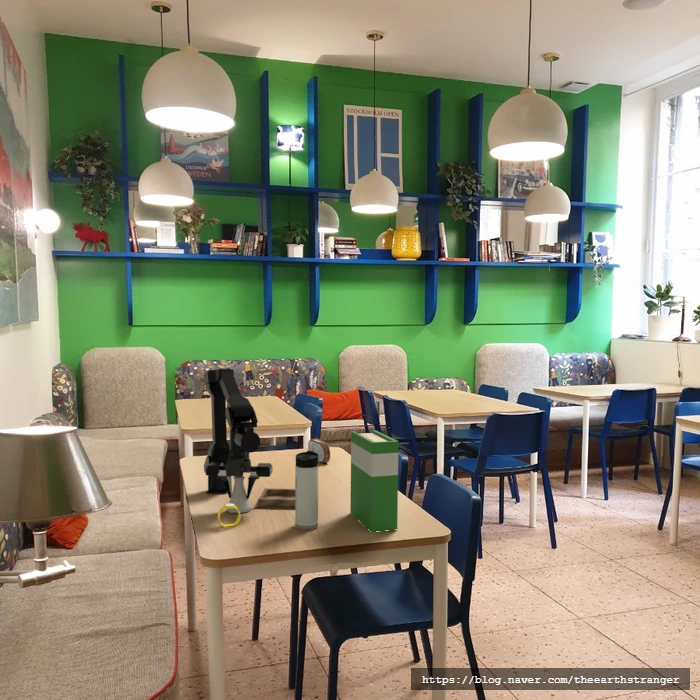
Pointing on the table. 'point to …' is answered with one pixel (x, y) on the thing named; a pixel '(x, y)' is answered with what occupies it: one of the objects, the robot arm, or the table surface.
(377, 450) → the hardback book
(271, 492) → the tray
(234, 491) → the flask
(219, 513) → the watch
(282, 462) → the table surface
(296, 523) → the travel mug
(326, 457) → the tin
